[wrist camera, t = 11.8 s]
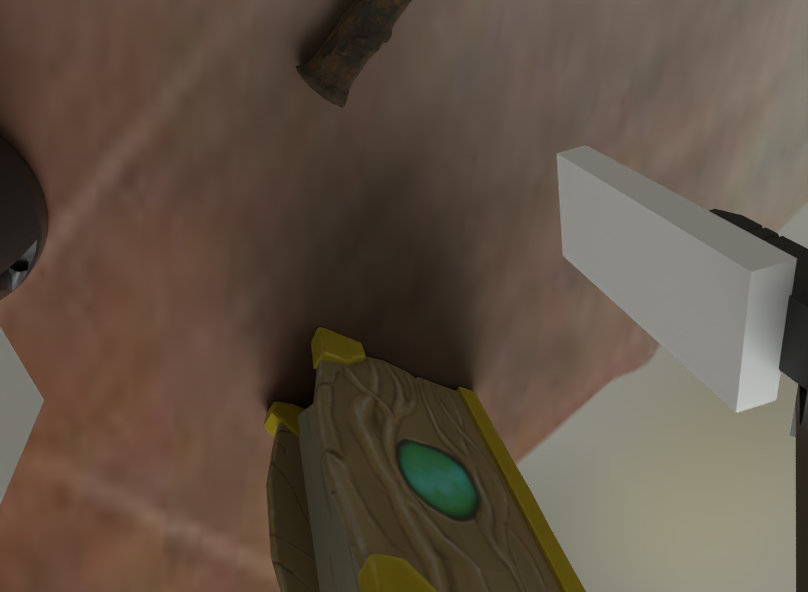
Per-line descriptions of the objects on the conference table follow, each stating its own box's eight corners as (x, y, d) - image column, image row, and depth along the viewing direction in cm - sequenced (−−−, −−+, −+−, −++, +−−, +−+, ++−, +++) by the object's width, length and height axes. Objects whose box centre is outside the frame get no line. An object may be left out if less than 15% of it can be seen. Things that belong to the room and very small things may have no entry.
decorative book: (483, 390, 66) (643, 672, 40) (425, 468, 69) (539, 776, 43) (310, 317, 57) (372, 615, 32) (254, 410, 61) (267, 749, 35)
